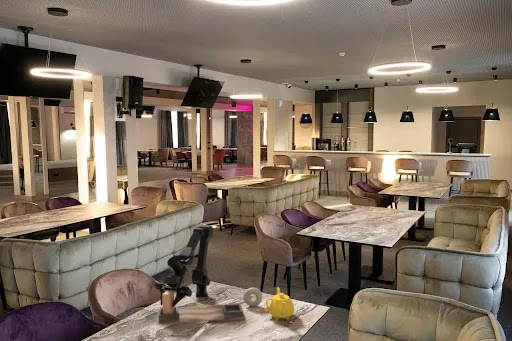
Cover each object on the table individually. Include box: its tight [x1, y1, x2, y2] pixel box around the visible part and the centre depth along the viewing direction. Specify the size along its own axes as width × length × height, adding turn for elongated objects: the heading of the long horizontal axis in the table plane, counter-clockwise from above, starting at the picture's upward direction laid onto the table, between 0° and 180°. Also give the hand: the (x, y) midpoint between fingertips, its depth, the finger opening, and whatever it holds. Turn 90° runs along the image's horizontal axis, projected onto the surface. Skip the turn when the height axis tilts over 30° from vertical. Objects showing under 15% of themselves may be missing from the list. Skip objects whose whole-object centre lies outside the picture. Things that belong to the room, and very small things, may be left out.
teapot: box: [264, 286, 295, 321], centre depth 204 cm, size 20×15×12 cm
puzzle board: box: [155, 303, 246, 326], centre depth 204 cm, size 17×42×4 cm, turn 100°
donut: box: [242, 287, 263, 307], centre depth 216 cm, size 10×4×10 cm, turn 89°
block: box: [162, 290, 175, 315], centre depth 199 cm, size 4×4×12 cm
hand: (166, 306), depth 198 cm, fingers open, 6 cm apart
